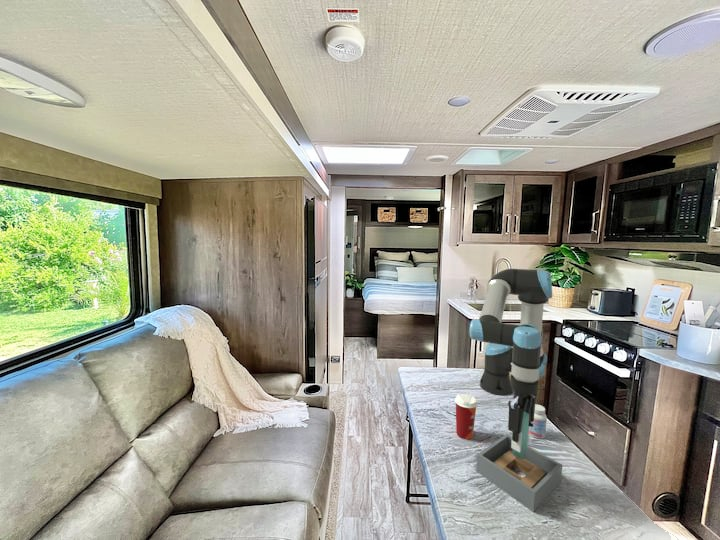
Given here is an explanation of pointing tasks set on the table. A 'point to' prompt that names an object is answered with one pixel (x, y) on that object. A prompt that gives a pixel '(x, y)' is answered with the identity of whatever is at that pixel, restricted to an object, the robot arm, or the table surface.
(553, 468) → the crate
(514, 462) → the bore block
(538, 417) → the pill bottle
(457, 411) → the coffee cup
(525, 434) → the peg
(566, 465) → the table surface
